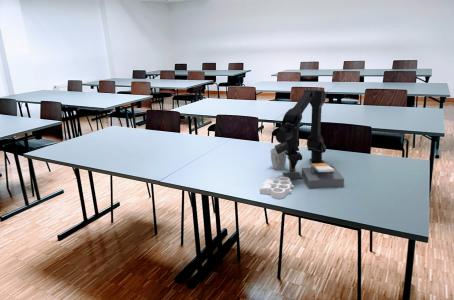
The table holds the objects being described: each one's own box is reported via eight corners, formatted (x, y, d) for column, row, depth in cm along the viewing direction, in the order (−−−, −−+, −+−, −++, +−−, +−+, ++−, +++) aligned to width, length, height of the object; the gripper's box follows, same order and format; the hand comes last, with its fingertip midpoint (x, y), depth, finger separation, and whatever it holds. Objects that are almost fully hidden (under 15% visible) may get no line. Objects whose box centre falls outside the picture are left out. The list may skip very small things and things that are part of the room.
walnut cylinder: (288, 169, 174) (288, 153, 171) (294, 169, 174) (294, 152, 171) (289, 172, 171) (289, 155, 168) (295, 172, 171) (296, 155, 168)
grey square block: (301, 175, 174) (301, 160, 172) (333, 173, 174) (334, 158, 171) (308, 188, 159) (309, 172, 156) (343, 186, 159) (344, 171, 156)
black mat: (282, 173, 177) (282, 172, 177) (298, 172, 177) (298, 171, 177) (285, 180, 169) (285, 178, 169) (301, 179, 169) (301, 178, 169)
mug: (277, 162, 193) (277, 145, 190) (291, 164, 188) (291, 147, 185) (268, 168, 184) (267, 151, 181) (282, 171, 180) (282, 153, 177)
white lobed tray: (267, 181, 170) (296, 184, 165) (257, 197, 154) (290, 200, 149) (267, 175, 169) (297, 177, 164) (257, 190, 153) (290, 193, 148)
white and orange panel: (311, 166, 172) (311, 163, 172) (325, 165, 172) (325, 163, 171) (318, 172, 157) (318, 169, 157) (334, 171, 157) (334, 168, 157)
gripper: (273, 133, 176) (273, 162, 181) (278, 144, 158) (278, 175, 163) (295, 132, 175) (294, 160, 180) (302, 143, 158) (302, 174, 163)
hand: (292, 167), depth 172 cm, fingers closed on walnut cylinder, 3 cm apart
